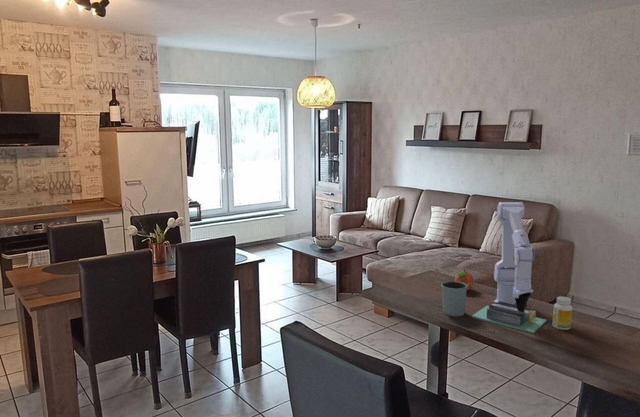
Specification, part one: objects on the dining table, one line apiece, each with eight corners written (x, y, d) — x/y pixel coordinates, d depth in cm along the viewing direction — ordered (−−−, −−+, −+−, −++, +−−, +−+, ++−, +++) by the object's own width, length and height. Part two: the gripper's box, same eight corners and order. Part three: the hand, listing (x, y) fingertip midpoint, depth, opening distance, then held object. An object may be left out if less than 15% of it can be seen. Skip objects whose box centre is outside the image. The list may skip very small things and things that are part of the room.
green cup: (467, 318, 194) (468, 289, 192) (441, 316, 196) (441, 288, 194) (464, 308, 204) (465, 281, 202) (440, 307, 206) (440, 280, 204)
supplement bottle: (548, 325, 186) (550, 297, 184) (559, 322, 188) (561, 294, 186) (563, 331, 180) (565, 302, 178) (574, 328, 183) (576, 299, 181)
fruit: (449, 288, 229) (450, 268, 227) (465, 285, 233) (465, 265, 231) (462, 294, 221) (463, 273, 219) (478, 290, 225) (479, 270, 224)
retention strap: (490, 306, 195) (490, 305, 195) (493, 305, 197) (493, 303, 197) (527, 315, 185) (527, 313, 185) (529, 313, 187) (529, 311, 187)
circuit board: (487, 306, 205) (487, 305, 205) (546, 321, 190) (546, 319, 190) (471, 317, 194) (471, 315, 194) (533, 333, 179) (533, 331, 178)
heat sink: (496, 309, 201) (497, 298, 200) (538, 319, 190) (539, 307, 189) (484, 317, 192) (485, 306, 191) (528, 328, 181) (528, 316, 180)
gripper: (526, 283, 178) (524, 318, 180) (540, 274, 189) (537, 307, 191) (507, 280, 183) (505, 314, 185) (521, 271, 193) (519, 303, 196)
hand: (520, 310), depth 188 cm, fingers closed, pressing on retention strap
